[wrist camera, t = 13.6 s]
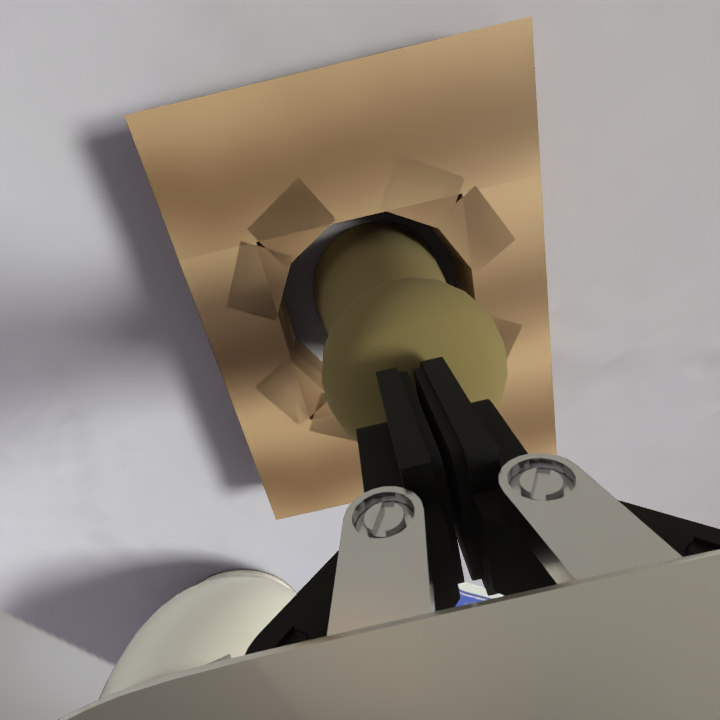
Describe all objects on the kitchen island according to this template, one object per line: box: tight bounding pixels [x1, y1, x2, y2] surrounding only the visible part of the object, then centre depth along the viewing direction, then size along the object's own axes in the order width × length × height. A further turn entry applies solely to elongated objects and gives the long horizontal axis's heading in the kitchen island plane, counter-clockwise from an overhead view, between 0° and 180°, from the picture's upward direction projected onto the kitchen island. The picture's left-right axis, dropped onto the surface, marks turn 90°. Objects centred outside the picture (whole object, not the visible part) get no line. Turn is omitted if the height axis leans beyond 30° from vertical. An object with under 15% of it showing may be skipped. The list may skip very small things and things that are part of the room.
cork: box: [313, 222, 508, 441], centre depth 17 cm, size 6×6×11 cm
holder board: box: [124, 17, 557, 520], centre depth 21 cm, size 18×14×3 cm
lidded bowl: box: [98, 570, 297, 700], centre depth 24 cm, size 13×13×11 cm
